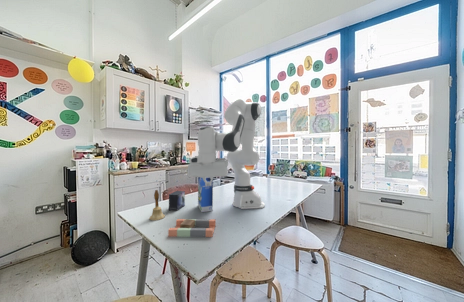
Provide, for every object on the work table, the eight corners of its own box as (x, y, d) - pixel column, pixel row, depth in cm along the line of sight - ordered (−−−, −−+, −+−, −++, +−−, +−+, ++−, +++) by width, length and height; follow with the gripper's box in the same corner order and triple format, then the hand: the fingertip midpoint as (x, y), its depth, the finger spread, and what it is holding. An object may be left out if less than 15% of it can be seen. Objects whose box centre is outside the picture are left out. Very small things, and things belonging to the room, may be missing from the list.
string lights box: (197, 205, 120) (197, 168, 119) (208, 204, 123) (208, 168, 122) (201, 212, 107) (201, 171, 107) (213, 210, 110) (213, 170, 110)
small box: (177, 211, 110) (177, 194, 110) (168, 210, 111) (168, 194, 111) (185, 205, 120) (185, 190, 120) (176, 205, 121) (176, 190, 121)
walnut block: (194, 227, 87) (194, 219, 87) (190, 233, 81) (190, 225, 81) (185, 227, 88) (185, 219, 88) (180, 232, 82) (180, 224, 82)
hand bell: (150, 221, 94) (150, 192, 94) (148, 217, 101) (147, 189, 100) (166, 218, 99) (166, 190, 99) (162, 213, 106) (162, 187, 105)
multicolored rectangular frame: (215, 225, 90) (215, 219, 90) (212, 237, 78) (212, 230, 78) (177, 224, 90) (177, 219, 90) (168, 236, 78) (168, 229, 78)
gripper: (228, 157, 90) (229, 183, 91) (189, 158, 91) (190, 184, 91) (227, 158, 84) (228, 186, 84) (185, 159, 84) (187, 187, 85)
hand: (208, 185), depth 88 cm, fingers closed
